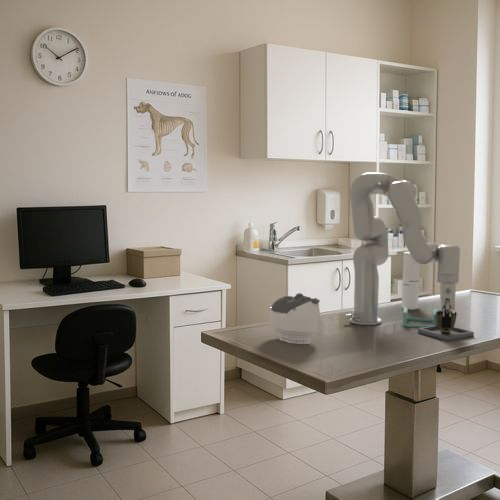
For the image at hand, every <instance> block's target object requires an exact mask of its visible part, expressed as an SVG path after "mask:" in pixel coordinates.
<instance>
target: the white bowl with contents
mask: <svg viewBox="0 0 500 500" xmlns="http://www.w3.org/2000/svg"><path fill="white" fill-rule="evenodd" d="M320 302H321V301H320V299H319V298H317V297H315V298H312V297H310V296H306V295H304V294H303V293H301V292H299V293H296V294H295V296H291V295H285V296H283V297H280V298H278V299H276V300H275V301H274V302H273V303H272V304H271V306H270V308H269V326H271V327H272V329H273V330H274V331H275V332H276V333H278V335H279V338H278V339H279V340H280V341H282V342H286V343H289V344H298V345H300V344H301V345H306V344H307V345H308V344H310V343H311V341H310V338H313V337H314V336H315V335H316V334H317V333H318V332H320V331H321V312H320V311H321V310H320Z"/></svg>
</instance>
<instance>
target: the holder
mask: <svg viewBox="0 0 500 500" xmlns="http://www.w3.org/2000/svg"><path fill="white" fill-rule="evenodd" d="M408 310H409V309H408V307H404V308H403V311H402V313H403V314H402V327H407V328H423V327H429V326H435V325H437V320H436V311H437V312H438V308H432V318H419V317H408ZM408 321H415V322H429V323H430V322H431V323H432V325H429V324H428V325H427V324H417V323H416V324H415V323H414V324H413V323H408Z"/></svg>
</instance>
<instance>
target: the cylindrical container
mask: <svg viewBox="0 0 500 500" xmlns="http://www.w3.org/2000/svg"><path fill="white" fill-rule="evenodd" d="M402 264H403V265H402V287H401V288H402V289H401V308H402V309H404V307H408V310H417V309H419V291H420V270H421V269H420V266H421V264H419V263H417V262H416V261H415V260H414V259H413V258H412V256H411V254H410V252H409V251H404V252H403V260H402Z"/></svg>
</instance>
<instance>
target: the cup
mask: <svg viewBox="0 0 500 500" xmlns="http://www.w3.org/2000/svg"><path fill="white" fill-rule="evenodd" d="M457 314H458V312H457V311H455V312H454V313H453V310H451V328H444V327H442V316H443V311H442V309H441V310H440V309H439V310H437V311H436V320H437V325H438V327H439V328H441V330H440V331H441V333H444V334H449V333H450V332H451V330H450V329H452V328H453V327H455V325H456V319H457V316H458V315H457Z"/></svg>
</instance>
